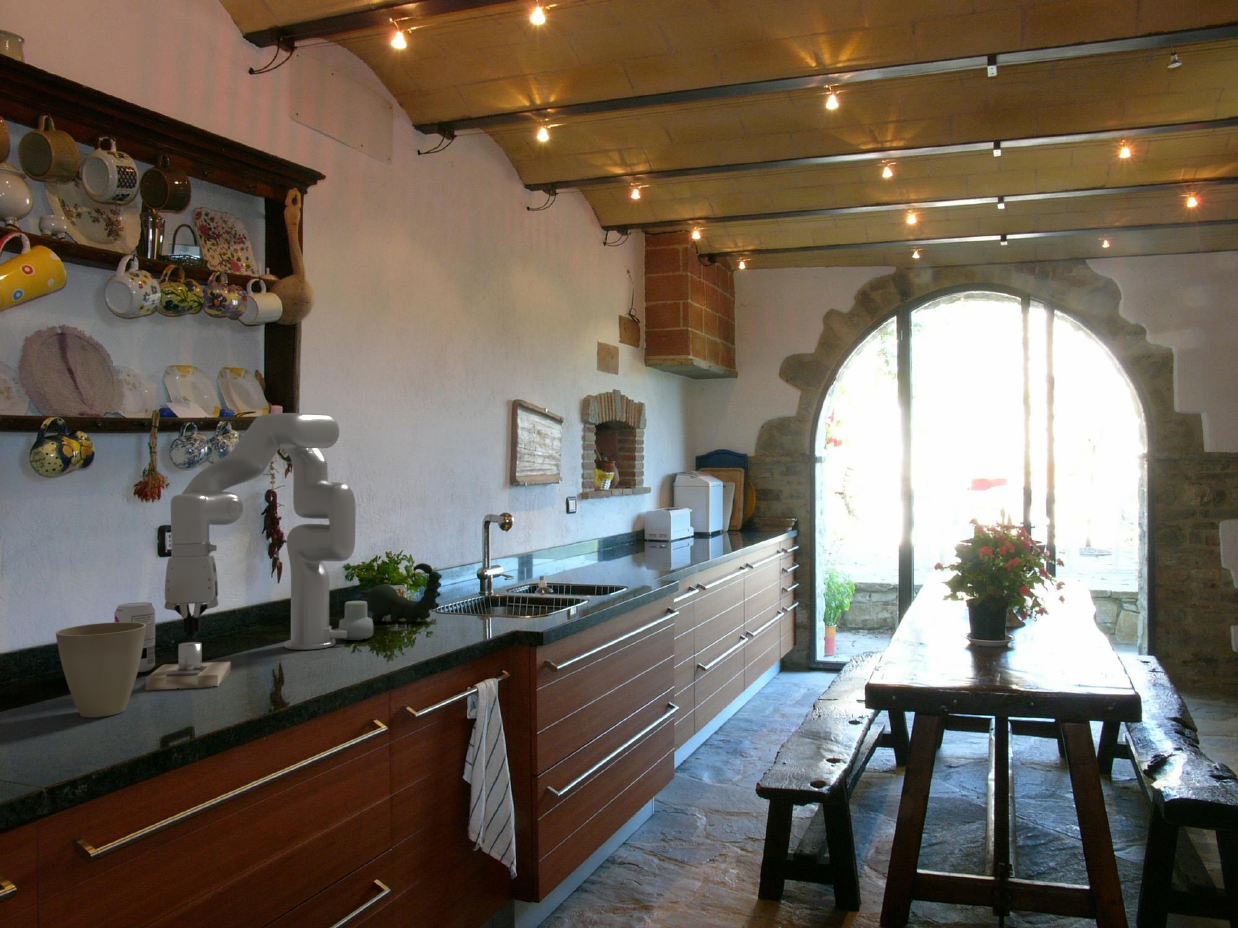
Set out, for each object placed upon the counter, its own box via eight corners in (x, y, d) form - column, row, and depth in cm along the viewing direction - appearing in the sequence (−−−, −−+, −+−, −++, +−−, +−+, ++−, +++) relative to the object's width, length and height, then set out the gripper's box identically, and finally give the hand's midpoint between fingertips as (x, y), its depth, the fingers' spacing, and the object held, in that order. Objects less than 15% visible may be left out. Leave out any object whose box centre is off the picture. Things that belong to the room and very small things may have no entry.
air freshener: (374, 641, 250) (374, 603, 250) (342, 643, 247) (342, 605, 247) (369, 634, 260) (369, 598, 260) (338, 636, 257) (338, 600, 257)
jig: (230, 672, 211) (230, 658, 211) (217, 686, 198) (217, 671, 198) (163, 675, 208) (163, 661, 208) (145, 689, 195) (145, 675, 195)
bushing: (203, 678, 206) (203, 641, 206) (199, 682, 201) (199, 645, 201) (181, 679, 205) (181, 642, 205) (175, 683, 200) (175, 646, 200)
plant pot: (125, 699, 187) (125, 619, 187) (159, 711, 177) (160, 626, 178) (42, 714, 175) (42, 628, 176) (74, 727, 166) (74, 637, 166)
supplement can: (110, 674, 209) (110, 607, 210) (119, 667, 217) (119, 602, 217) (150, 672, 212) (150, 606, 212) (158, 665, 220) (158, 601, 220)
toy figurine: (440, 625, 286) (362, 616, 289) (446, 563, 286) (367, 555, 289) (430, 630, 276) (350, 621, 279) (436, 566, 276) (355, 558, 279)
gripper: (230, 548, 209) (232, 630, 209) (158, 550, 205) (159, 633, 206) (223, 551, 201) (225, 636, 202) (148, 554, 198) (150, 640, 198)
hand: (192, 634), depth 204 cm, fingers closed
